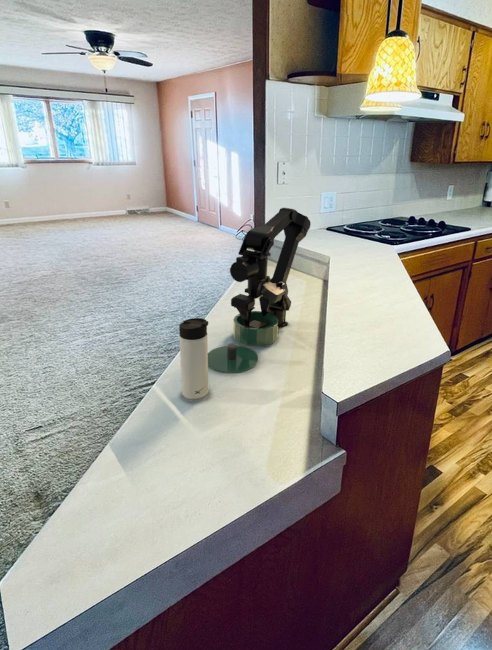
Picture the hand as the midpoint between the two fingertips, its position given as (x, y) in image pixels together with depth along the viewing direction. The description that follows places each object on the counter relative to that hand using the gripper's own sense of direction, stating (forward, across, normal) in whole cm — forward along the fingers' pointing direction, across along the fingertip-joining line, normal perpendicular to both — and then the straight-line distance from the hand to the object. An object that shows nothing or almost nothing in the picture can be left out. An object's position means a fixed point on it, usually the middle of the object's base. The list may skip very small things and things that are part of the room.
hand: (256, 320), depth 128 cm
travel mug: (+6, -34, -6) cm, 35 cm away
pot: (+6, 0, 0) cm, 6 cm away
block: (+6, 0, 0) cm, 6 cm away
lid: (+6, -16, -3) cm, 17 cm away
